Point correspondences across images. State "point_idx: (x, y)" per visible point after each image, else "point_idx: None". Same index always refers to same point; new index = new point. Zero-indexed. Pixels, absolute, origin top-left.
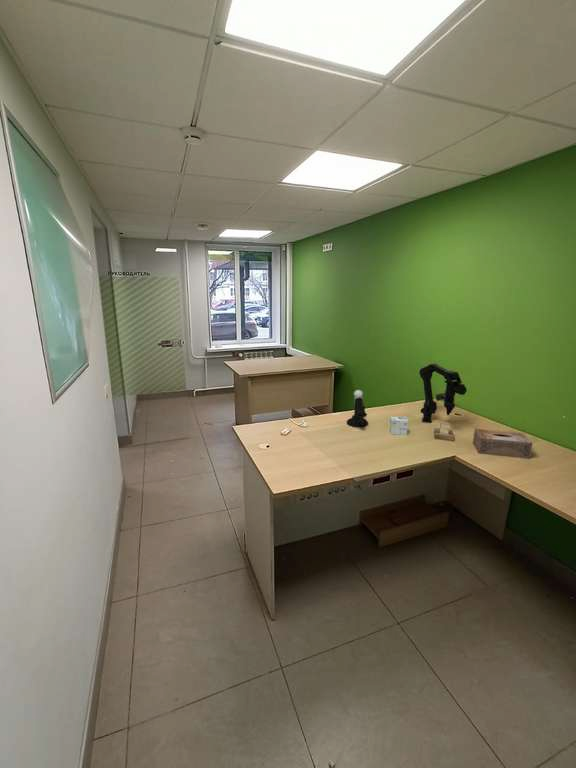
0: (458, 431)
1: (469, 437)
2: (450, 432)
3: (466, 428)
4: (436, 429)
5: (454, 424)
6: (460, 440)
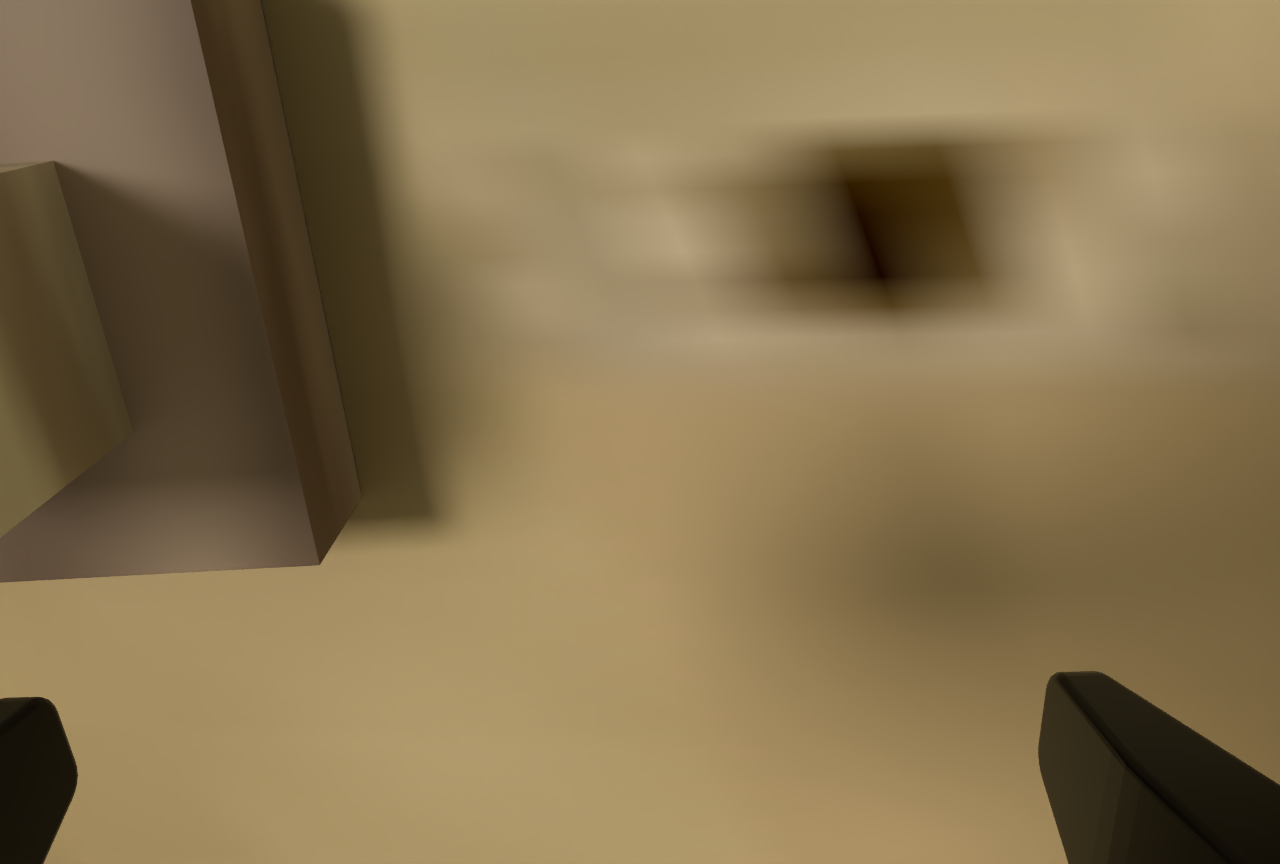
0: (690, 638)
1: (395, 834)
2: (99, 506)
3: (990, 802)
4: (86, 41)
5: (1238, 552)
6: (79, 668)
